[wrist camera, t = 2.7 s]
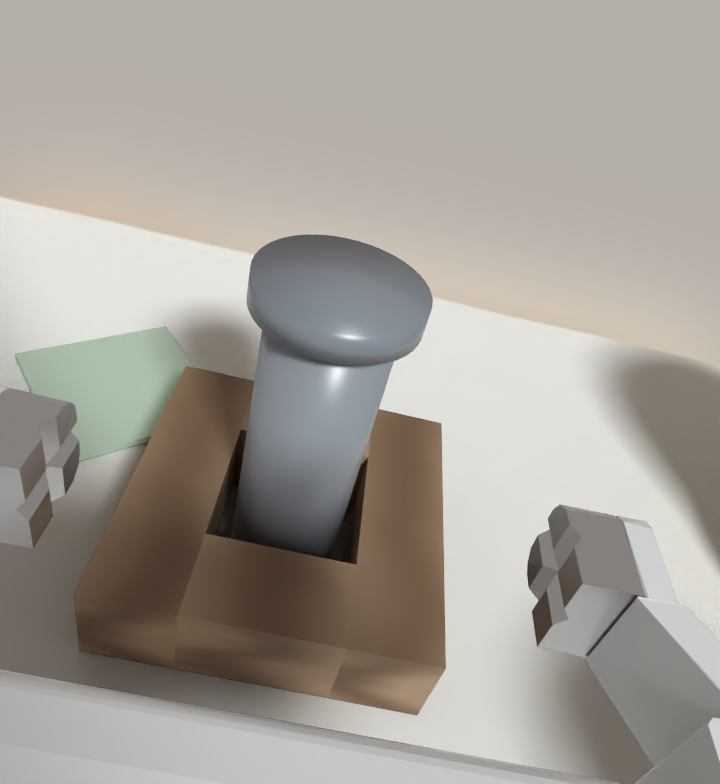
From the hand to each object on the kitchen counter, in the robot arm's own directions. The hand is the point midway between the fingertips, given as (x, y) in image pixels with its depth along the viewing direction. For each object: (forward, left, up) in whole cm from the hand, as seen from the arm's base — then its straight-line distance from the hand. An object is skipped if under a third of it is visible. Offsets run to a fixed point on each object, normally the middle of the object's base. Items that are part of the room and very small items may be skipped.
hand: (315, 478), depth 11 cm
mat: (-23, +5, -18) cm, 30 cm away
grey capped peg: (-10, +8, -18) cm, 22 cm away
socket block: (-10, +8, -18) cm, 22 cm away
